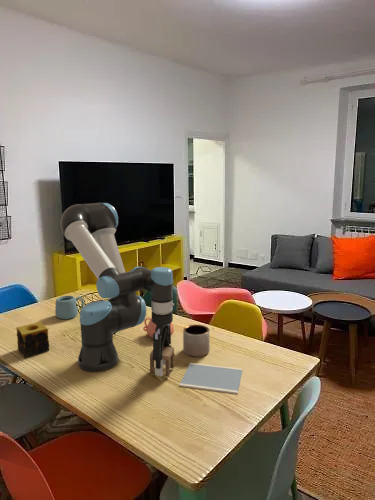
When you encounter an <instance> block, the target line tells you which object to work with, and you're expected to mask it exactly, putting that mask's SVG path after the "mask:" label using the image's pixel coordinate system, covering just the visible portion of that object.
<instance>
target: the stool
mask: <svg viewBox="0 0 375 500" xmlns="http://www.w3.org/2000/svg"><path fill="white" fill-rule="evenodd" d="M152 358H153V349H152V350H151V351H150V353H149V374H150V376H151V375H152V376H153V375H155V361H154V360H153V359H152ZM162 359H163V360H165V365H164V367H165V369H164V370H165V373H164V374H165V377H168V378H170V375H171V372H170V371H171V369H174V368H175V347H173V346H172V347H166V346H163V353H162Z"/></svg>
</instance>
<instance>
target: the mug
mask: <svg viewBox="0 0 375 500" xmlns="http://www.w3.org/2000/svg"><path fill="white" fill-rule="evenodd" d="M79 299H80V300H81V304H80V307H82V308H83V307H84V306H85V305H84V302H85V300H84V298H83V297H82V296H77V297H75V296H74V295H73V296H72V295H62V296H60V297H58V298H56V300H55V313H54V314H55V317H57V318H58V319H59V320H69V319H74V318H75V317H76V316H77V315H78V308H79V307H78V304H77V301H78V300H79ZM76 304H77V306H76Z"/></svg>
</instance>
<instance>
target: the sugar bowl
mask: <svg viewBox="0 0 375 500" xmlns="http://www.w3.org/2000/svg"><path fill="white" fill-rule="evenodd" d="M147 320H149V321H148V324H147ZM143 324H144V327H143V329H142V330H143V331H144V332H146V333H147V335H148V336H149V338H151V339H153V333H156V332H155V328H156V324H154V323H153V322H152V317H151V316H150V317H145V320H144V321H143ZM170 330H171V336H172V335H173V333H174V332H175V328H174V324H173V321H172V322H171V324H170Z"/></svg>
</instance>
